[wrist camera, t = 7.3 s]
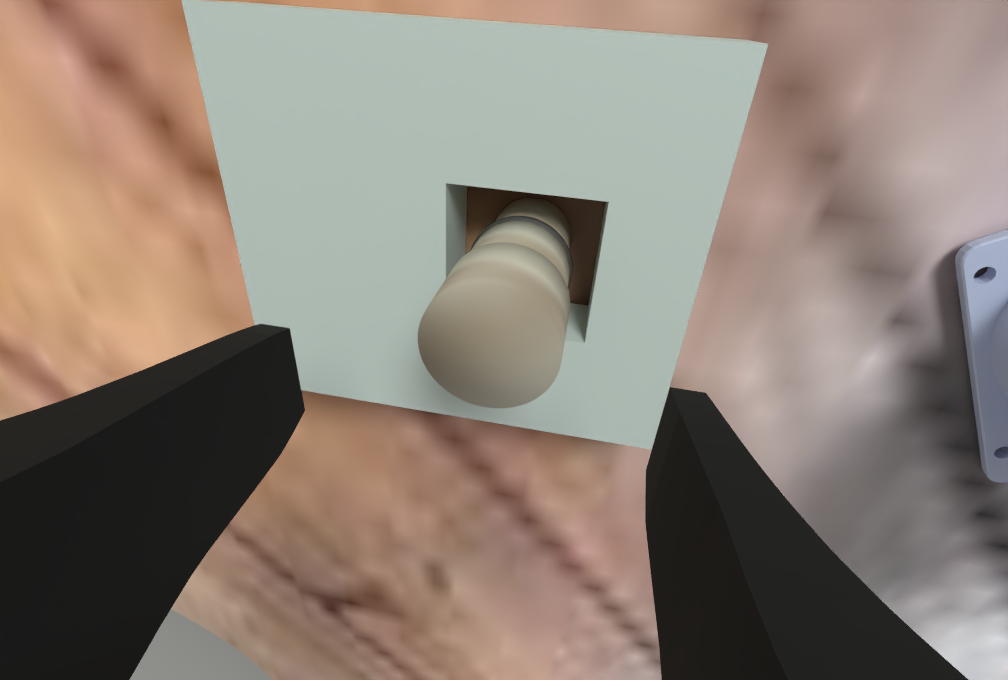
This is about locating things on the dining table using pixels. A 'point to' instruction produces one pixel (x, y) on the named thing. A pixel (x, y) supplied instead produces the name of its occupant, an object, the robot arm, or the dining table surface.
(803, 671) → the robot arm
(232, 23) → the hole board
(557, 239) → the peg
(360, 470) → the dining table surface
